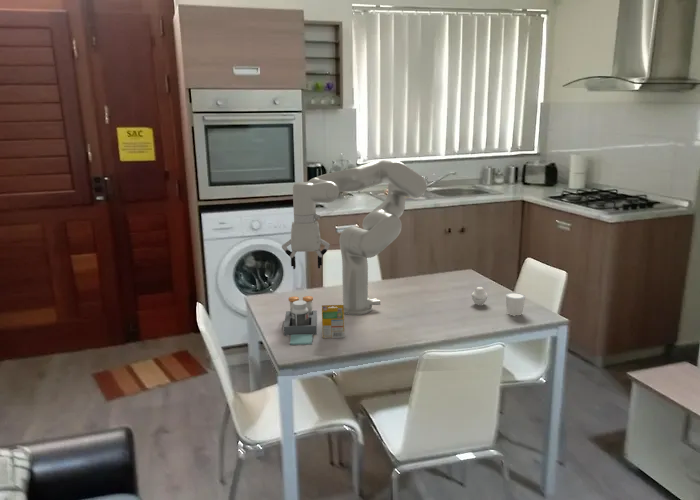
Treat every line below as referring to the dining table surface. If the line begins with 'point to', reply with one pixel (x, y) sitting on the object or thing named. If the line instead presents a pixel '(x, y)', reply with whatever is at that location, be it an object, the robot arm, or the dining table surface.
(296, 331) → the housing
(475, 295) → the white rounded lump
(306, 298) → the plunger
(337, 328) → the crayon box
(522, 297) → the shot glass
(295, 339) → the pad
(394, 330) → the dining table surface
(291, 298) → the plunger
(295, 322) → the pill bottle
